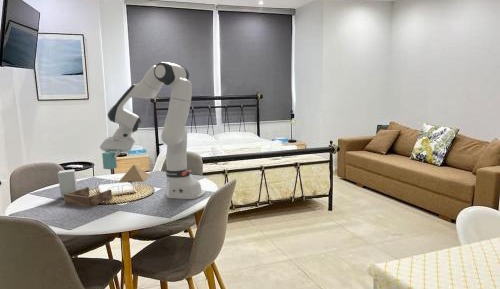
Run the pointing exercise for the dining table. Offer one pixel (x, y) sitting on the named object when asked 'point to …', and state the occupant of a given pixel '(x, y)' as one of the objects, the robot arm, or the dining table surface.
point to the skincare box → (67, 181)
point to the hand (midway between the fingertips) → (109, 157)
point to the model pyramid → (134, 175)
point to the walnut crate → (81, 197)
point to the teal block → (109, 160)
